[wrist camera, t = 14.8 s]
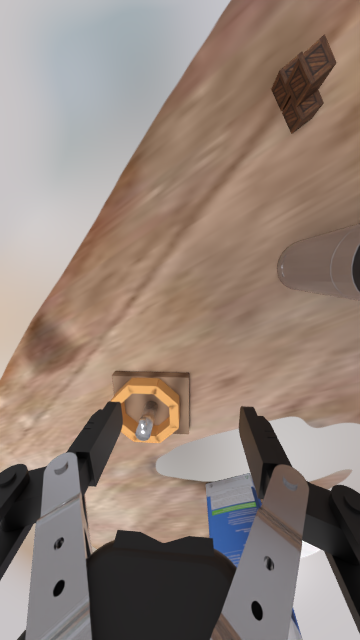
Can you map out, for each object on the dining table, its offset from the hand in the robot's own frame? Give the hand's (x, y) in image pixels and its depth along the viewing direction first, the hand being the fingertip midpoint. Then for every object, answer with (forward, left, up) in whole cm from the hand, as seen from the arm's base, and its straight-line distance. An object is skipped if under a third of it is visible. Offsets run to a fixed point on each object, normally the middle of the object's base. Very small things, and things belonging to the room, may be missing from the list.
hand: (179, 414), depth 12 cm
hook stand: (+9, +22, -28) cm, 37 cm away
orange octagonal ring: (+10, +22, -26) cm, 36 cm away
